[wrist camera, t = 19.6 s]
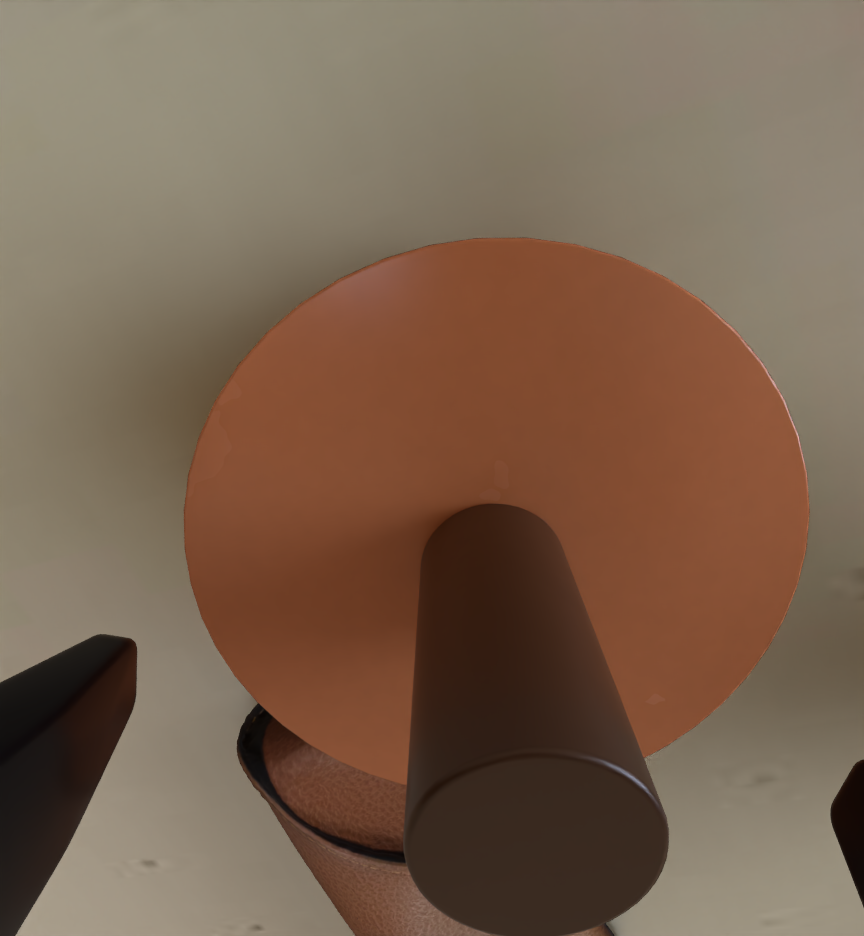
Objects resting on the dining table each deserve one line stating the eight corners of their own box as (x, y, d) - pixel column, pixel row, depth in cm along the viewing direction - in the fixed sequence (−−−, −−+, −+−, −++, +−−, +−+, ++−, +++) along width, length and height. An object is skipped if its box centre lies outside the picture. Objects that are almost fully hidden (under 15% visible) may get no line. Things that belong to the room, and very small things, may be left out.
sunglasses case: (639, 958, 25) (592, 1172, 20) (497, 907, 30) (431, 1074, 25) (468, 622, 20) (348, 810, 15) (323, 620, 24) (194, 765, 19)
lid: (880, 309, 10) (1515, 416, 4) (667, 788, 14) (838, 1205, 8) (224, 173, 10) (-141, 69, 4) (191, 712, 14) (-13, 1099, 8)
